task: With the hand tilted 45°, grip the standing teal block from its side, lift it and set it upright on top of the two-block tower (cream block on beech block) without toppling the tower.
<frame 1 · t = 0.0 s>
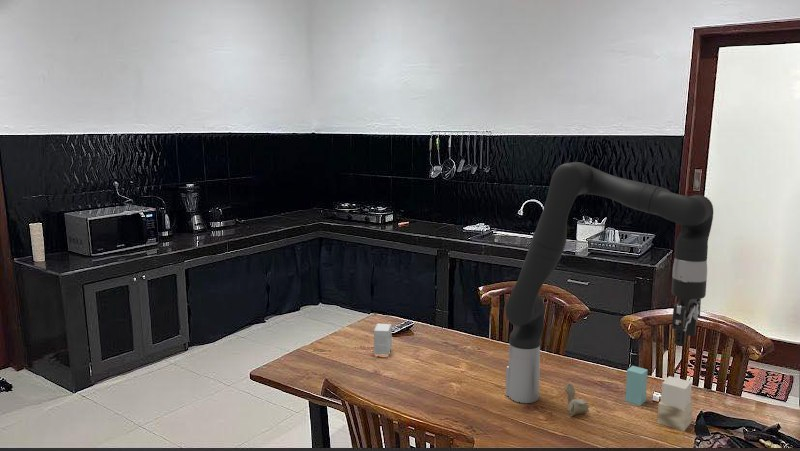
hand: (685, 340, 141), 29 cm above the table, tool pointing down, fingers open, 8 cm apart
small box: (383, 354, 212), on the table
beech block: (674, 422, 159), on the table, touching cream block
cream block: (675, 402, 158), point 6 cm above the table, touching beech block
teal block: (635, 400, 172), on the table
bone: (576, 414, 165), on the table
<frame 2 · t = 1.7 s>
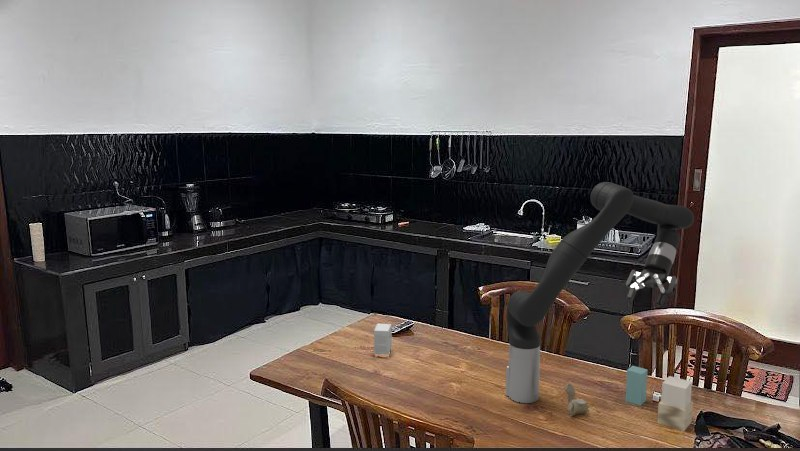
hand: (644, 302, 174), 29 cm above the table, tool tilted 45°, fingers open, 8 cm apart
nothing on the table moved.
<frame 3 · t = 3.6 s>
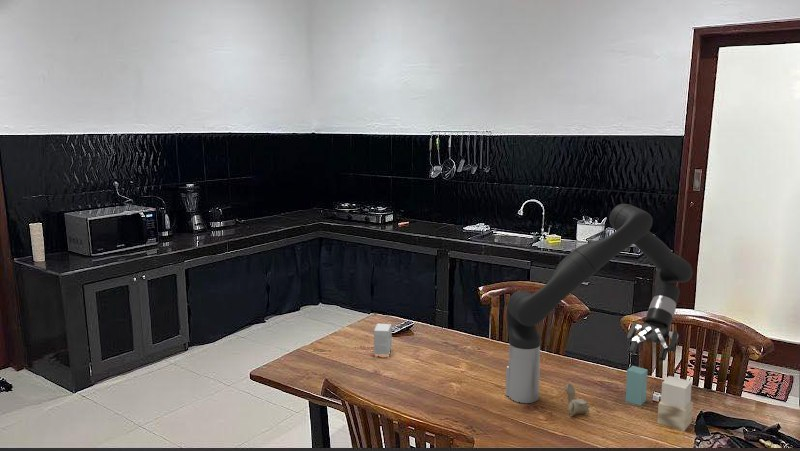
hand: (646, 357, 176), 12 cm above the table, tool tilted 45°, fingers open, 8 cm apart
nothing on the table moved.
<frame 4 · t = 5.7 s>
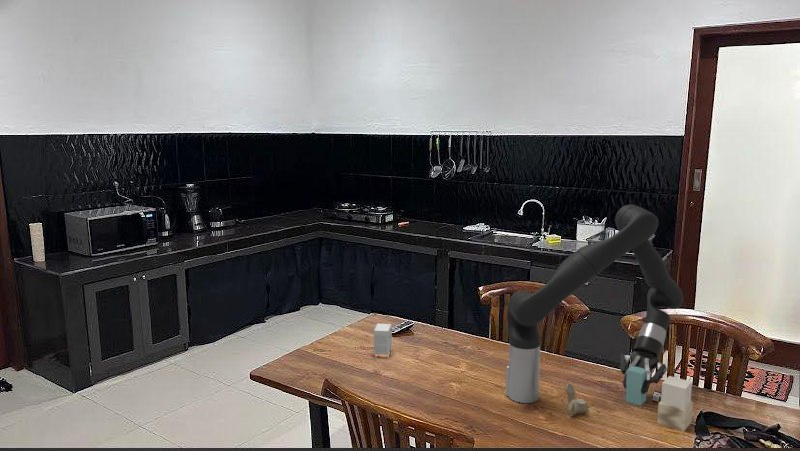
hand: (634, 390, 170), 4 cm above the table, tool tilted 45°, fingers closed on teal block, 4 cm apart
teal block: (635, 400, 172), on the table, touching gripper
everything else where it was.
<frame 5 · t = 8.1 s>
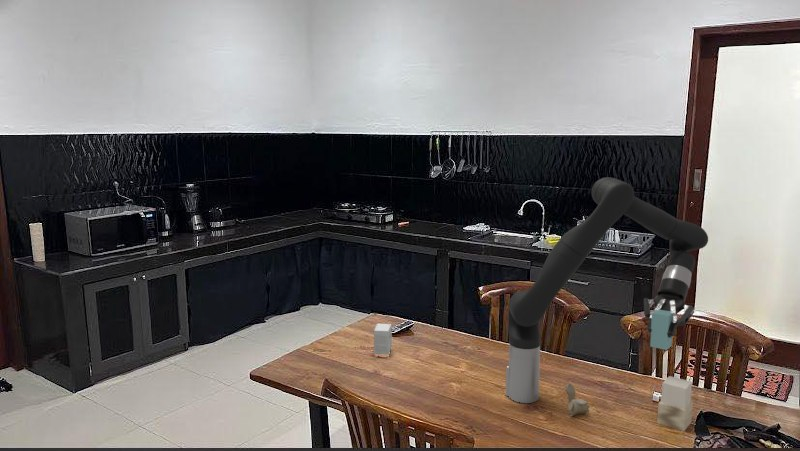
hand: (659, 334, 160), 24 cm above the table, tool tilted 45°, fingers closed on teal block, 4 cm apart
teal block: (660, 345, 162), point 20 cm above the table, touching gripper
everything else where it was.
when the fingers open (17 cm above the table, at t = 10.5 s): teal block drops 1 cm, resting on cream block.
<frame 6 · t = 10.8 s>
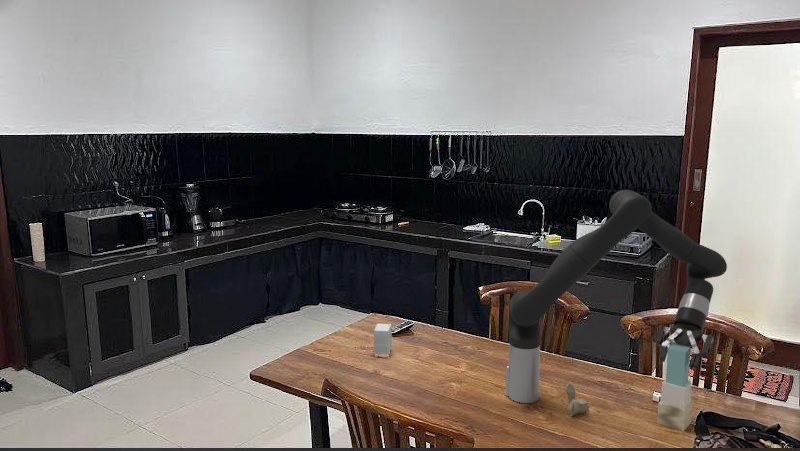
hand: (676, 364, 155), 18 cm above the table, tool tilted 45°, fingers open, 7 cm apart
cream block: (675, 402, 158), point 6 cm above the table, touching beech block, teal block
teal block: (676, 382, 157), point 12 cm above the table, touching cream block
everything else where it was.
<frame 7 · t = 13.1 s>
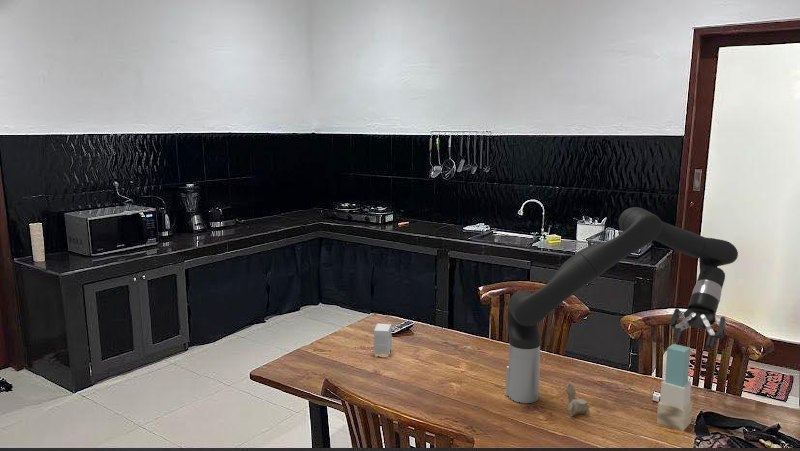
hand: (691, 344, 165), 19 cm above the table, tool tilted 45°, fingers open, 8 cm apart
nothing on the table moved.
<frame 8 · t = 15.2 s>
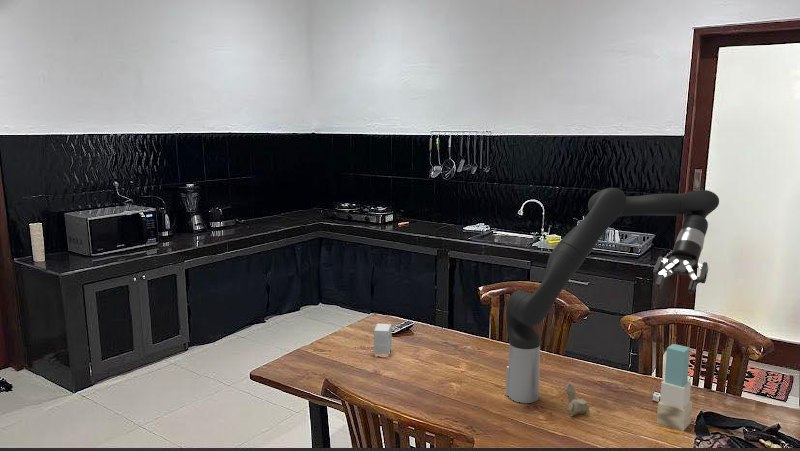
hand: (674, 290, 167), 35 cm above the table, tool tilted 45°, fingers open, 8 cm apart
nothing on the table moved.
at the end: teal block 0.0 cm off-centre on the cream block, point 6.0 cm above the cream block's base; teal block tilted 0°; cream block tilted 0° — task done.
